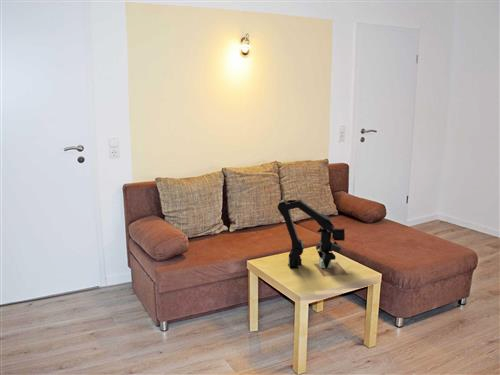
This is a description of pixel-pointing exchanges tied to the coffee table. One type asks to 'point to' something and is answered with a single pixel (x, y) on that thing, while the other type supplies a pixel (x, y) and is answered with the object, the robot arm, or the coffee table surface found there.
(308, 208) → the robot arm
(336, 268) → the board
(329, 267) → the pale green knobbed block
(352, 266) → the coffee table surface
